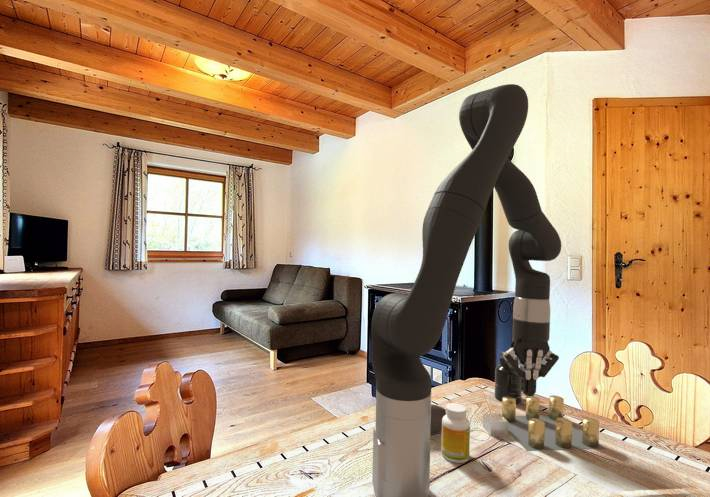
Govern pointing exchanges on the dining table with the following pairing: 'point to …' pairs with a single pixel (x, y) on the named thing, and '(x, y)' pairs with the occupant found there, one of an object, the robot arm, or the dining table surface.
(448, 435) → the supplement bottle
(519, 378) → the supplement bottle
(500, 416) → the white faced textured brick
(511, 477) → the dining table surface
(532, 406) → the spacers
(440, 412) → the perforated stone tool
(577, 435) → the mat
